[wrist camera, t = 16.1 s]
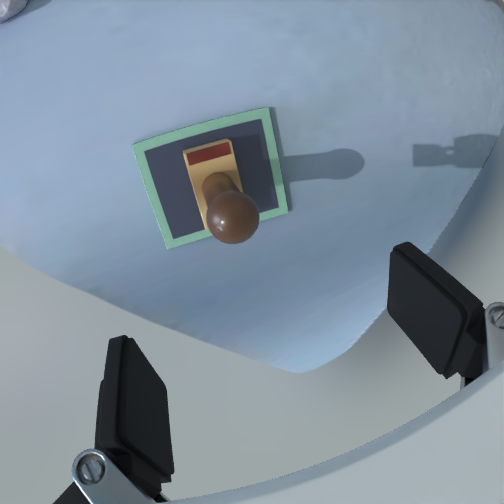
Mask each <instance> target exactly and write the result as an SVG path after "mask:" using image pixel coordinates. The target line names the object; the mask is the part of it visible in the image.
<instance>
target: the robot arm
mask: <svg viewBox="0 0 504 504" xmlns="http://www.w3.org/2000/svg"><path fill="white" fill-rule="evenodd" d="M387 309H388V313H389V314H390V316H391V317H392V318H393V319H394V321H395V322H396V323H397V324H398V325H399V326H400V328H401V329H402V330H403V331H404V332H405V334H406V335H407V336H408V337H409V338H410V340H411V341H412V342H413V343H414V344H415V346H416V347H417V348H418V349H419V351H420V352H421V353H422V354H423V356H424V357H425V358H426V359H427V361H428V362H429V363H430V364H431V366H432V367H433V368H434V369H435V371H436V372H437V373H438V374H443V376H444V377H445V378H446V379H448V378H449V377H451V376H452V375H454V374H455V373H457V372H458V373H459V374H460V375H461V385H460V391H458V392H457V393H455V394H454V395H452V396H451V397H449V398H448V399H446V400H445V401H443V402H441V403H440V404H438V405H437V406H435V407H434V408H432V409H430V410H429V411H427V412H425V413H424V414H422V415H420V416H418V417H417V418H415V419H413V420H411V421H410V422H408V423H406V424H404V425H402V426H401V427H399V428H397V429H395V430H393V431H391V432H390V433H387V434H385V435H383V436H381V437H379V438H377V439H375V440H373V441H371V442H369V443H367V444H365V445H363V446H360V447H359V448H356V449H354V450H351V451H349V452H347V453H344V454H342V455H340V456H338V457H335V458H332V459H330V460H327V461H325V462H322V463H320V464H317V465H314V466H311V467H309V468H306V469H303V470H300V471H297V472H294V473H291V474H288V475H285V476H282V477H279V478H275V479H272V480H268V481H265V482H261V483H257V484H253V485H250V486H246V487H241V488H237V489H233V490H228V491H224V492H219V493H214V494H209V495H204V496H199V497H193V498H187V499H180V500H174V501H171V500H170V499H169V498H167V497H166V496H165V495H164V494H163V493H162V492H161V491H162V489H161V483H167V482H171V474H173V473H174V462H173V455H172V445H171V436H170V424H169V413H168V401H167V400H168V399H167V389H166V386H165V384H164V383H163V381H162V380H161V378H160V377H159V376H158V374H157V373H156V372H155V370H154V368H153V367H152V366H151V364H150V363H149V361H148V360H147V358H146V357H145V355H144V354H143V352H142V351H141V350H140V348H139V347H138V345H137V344H136V342H135V340H134V339H133V338H128V337H127V336H126V335H122V336H119V337H115V338H111V339H110V340H109V344H108V351H107V357H106V364H105V371H104V379H103V380H102V381H101V384H100V390H99V399H98V409H97V419H96V432H95V449H87V450H84V451H83V452H81V453H80V454H79V455H78V456H77V457H76V458H75V460H74V462H73V465H72V476H73V479H74V482H73V483H72V484H71V485H70V486H69V487H68V488H67V489H66V490H65V491H64V493H62V495H61V496H60V497H59V498H58V499H57V500H56V501H55V502H54V503H53V504H504V303H502V302H495V303H492V304H490V305H489V306H488V307H487V308H486V309H484V308H483V303H482V302H481V301H480V300H479V299H478V298H477V297H476V296H475V295H473V294H472V293H471V292H470V291H469V290H468V289H466V288H465V287H464V286H463V285H462V284H461V283H459V282H458V281H457V280H456V279H455V278H454V277H453V276H451V275H450V274H449V273H447V271H445V270H444V269H443V268H442V267H441V266H439V265H438V264H437V263H436V262H434V261H433V260H432V259H431V258H429V257H428V256H427V255H426V254H424V253H423V252H422V251H421V250H419V249H418V248H417V247H416V246H414V245H413V244H412V243H410V242H404V243H402V244H399V245H396V246H395V247H394V248H393V251H392V252H391V253H390V268H389V286H388V300H387Z"/></svg>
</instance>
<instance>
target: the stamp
mask: <svg viewBox="0 0 504 504" xmlns="http://www.w3.org/2000/svg"><path fill="white" fill-rule="evenodd" d="M183 155H184V159H185V162H186V166H187V169H188V173H189V176H190V180H191V183H192V187H193V190H194V193H195V197H196V200H197V203H198V207H199V210H200V213H201V217H202V220H203V223H204V227H205V230H206V231H207V230H209V231H210V232H211V234H212V235H213V236H214V237H215V238H216V239H218V240H220V241H221V242H224V243H227V244H238V243H242V242H244V241H246V240H248V239H249V238H250V237H251V236H252V235H253V234H254V233H255V231H256V230H257V228H258V225H259V219H260V215H259V210H258V207H257V205H256V203H255V201H254V200H253V199H252V198H251V197H250V196H249V195H247V194H245V193H243V190H242V185H241V181H240V177H239V173H238V168H237V164H236V160H235V156H234V152H233V147H232V143H231V141H230V140H229V139H227V138H224V139H221V140H217V141H213V142H209V143H206V144H202V145H199V146H195V147H192V148H189V149H185V150H183Z"/></svg>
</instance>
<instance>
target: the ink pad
mask: <svg viewBox="0 0 504 504" xmlns="http://www.w3.org/2000/svg"><path fill="white" fill-rule="evenodd" d="M224 138H227V139H229V140H230V141H231V143H232V147H233V152H234V156H235V160H236V164H237V168H238V173H239V177H240V181H241V185H242V190H243V193H245V194H247V195H249V196H250V197H251V198H252V199H253V200H254V201H255V203H256V205H257V207H258V210H259V215H260V219H259V221H263V220H266V219H269V218H273V217H276V216H280V215H283V214H287V213H288V207H287V201H286V195H285V190H284V184H283V179H282V173H281V168H280V163H279V157H278V152H277V147H276V142H275V137H274V132H273V127H272V122H271V117H270V112H269V108H268V107H265V108H260V109H255V110H251V111H246V112H242V113H238V114H233V115H229V116H225V117H221V118H217V119H213V120H209V121H206V122H202V123H198V124H195V125H191V126H188V127H184V128H181V129H178V130H174V131H171V132H168V133H165V134H162V135H158V136H155V137H152V138H149V139H146V140H143V141H141V142H138V143H135V144H132V148H133V151H134V155H135V158H136V161H137V164H138V167H139V170H140V173H141V176H142V179H143V182H144V185H145V188H146V191H147V194H148V197H149V200H150V203H151V206H152V209H153V211H154V214H155V217H156V220H157V222H158V225H159V228H160V231H161V233H162V236H163V239H164V241H165V244H166V247H167V249H171V248H174V247H177V246H181V245H184V244H187V243H190V242H193V241H197V240H200V239H203V238H206V237H210V236H213V235H212V234H211V232H210V231H209V230H207V231H206V230H205V227H204V223H203V220H202V217H201V213H200V210H199V207H198V203H197V200H196V197H195V193H194V190H193V187H192V183H191V180H190V176H189V173H188V169H187V166H186V162H185V159H184V155H183V150H185V149H189V148H192V147H195V146H199V145H202V144H206V143H209V142H213V141H217V140H221V139H224Z"/></svg>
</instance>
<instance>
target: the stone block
mask: <svg viewBox="0 0 504 504" xmlns="http://www.w3.org/2000/svg"><path fill="white" fill-rule="evenodd" d="M27 1H28V0H0V24H1V23H3V22H5V21H7V20H8V19H9V18H11V17H12V16H14V15H16V14H17V13H19V12H20V11H21V10H23V9H24V7H25V5H26V3H27Z"/></svg>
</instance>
